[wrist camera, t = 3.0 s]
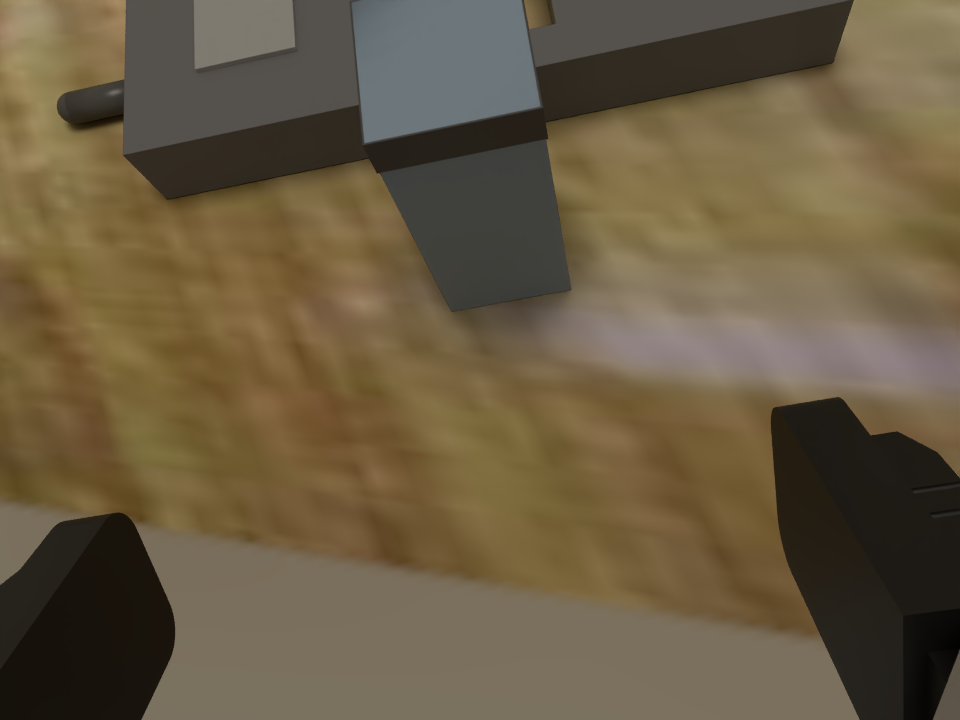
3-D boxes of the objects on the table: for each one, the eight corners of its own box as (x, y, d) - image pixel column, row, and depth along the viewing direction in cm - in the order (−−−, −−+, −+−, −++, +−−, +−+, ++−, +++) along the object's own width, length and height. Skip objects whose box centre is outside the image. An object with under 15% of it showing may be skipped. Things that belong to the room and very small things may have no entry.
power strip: (769, -133, 33) (784, -222, 29) (833, 62, 30) (857, -13, 26) (73, 28, 36) (17, -36, 33) (64, 220, 33) (1, 171, 29)
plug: (553, 182, 30) (517, -38, 21) (573, 290, 28) (543, 107, 19) (436, 205, 30) (349, 1, 21) (450, 313, 29) (362, 145, 20)
